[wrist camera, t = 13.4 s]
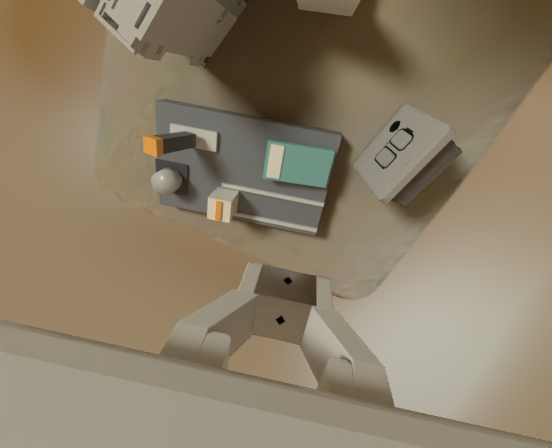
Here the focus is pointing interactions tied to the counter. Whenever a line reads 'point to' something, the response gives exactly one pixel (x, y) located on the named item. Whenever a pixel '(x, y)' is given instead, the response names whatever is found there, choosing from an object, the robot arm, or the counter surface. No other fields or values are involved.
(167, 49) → the circuit breaker
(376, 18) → the counter surface
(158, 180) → the button
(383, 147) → the electrical switch
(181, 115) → the panel
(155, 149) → the toggle lever
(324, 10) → the white angled block
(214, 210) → the cream cube orange stripe
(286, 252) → the counter surface
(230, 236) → the counter surface
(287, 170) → the teal tile cream strip
